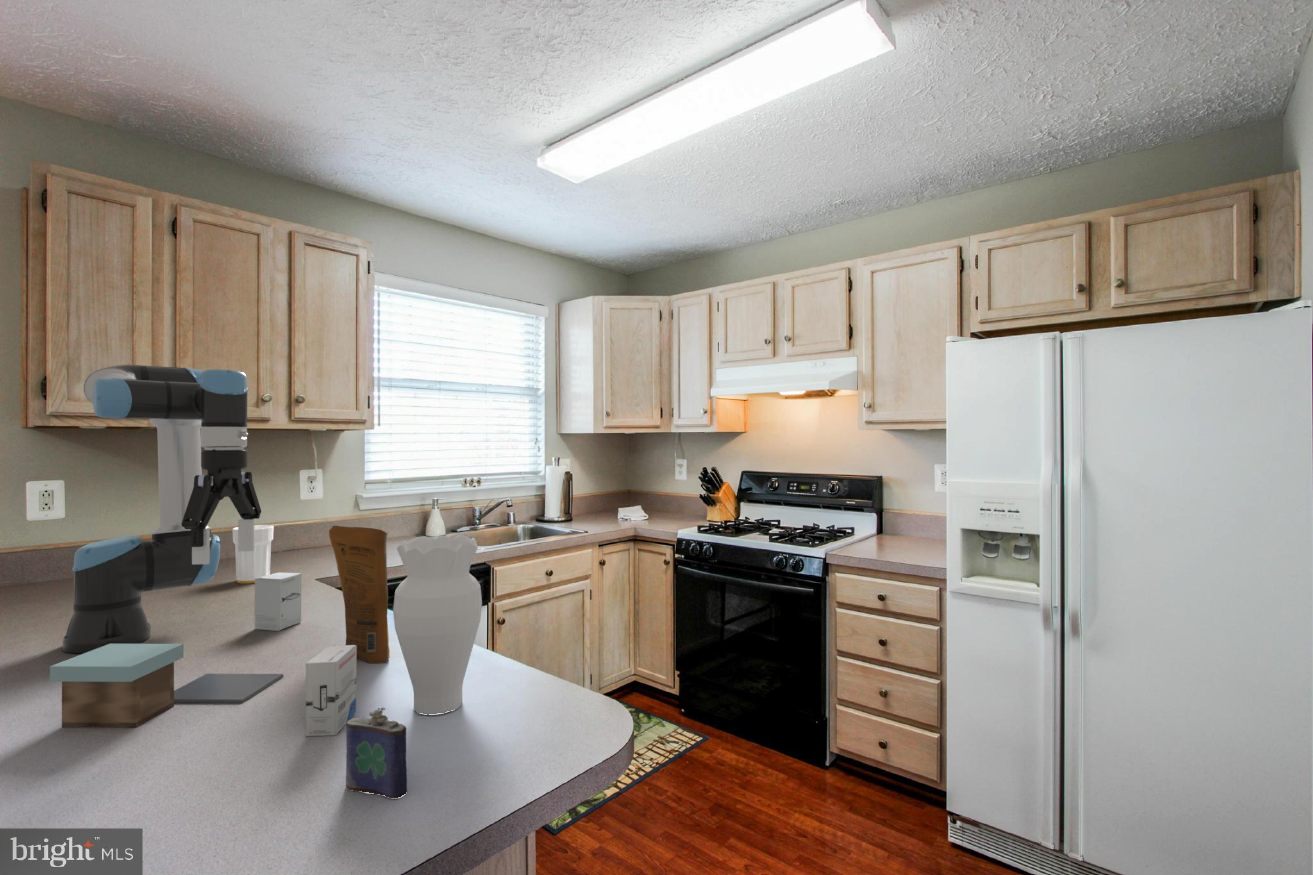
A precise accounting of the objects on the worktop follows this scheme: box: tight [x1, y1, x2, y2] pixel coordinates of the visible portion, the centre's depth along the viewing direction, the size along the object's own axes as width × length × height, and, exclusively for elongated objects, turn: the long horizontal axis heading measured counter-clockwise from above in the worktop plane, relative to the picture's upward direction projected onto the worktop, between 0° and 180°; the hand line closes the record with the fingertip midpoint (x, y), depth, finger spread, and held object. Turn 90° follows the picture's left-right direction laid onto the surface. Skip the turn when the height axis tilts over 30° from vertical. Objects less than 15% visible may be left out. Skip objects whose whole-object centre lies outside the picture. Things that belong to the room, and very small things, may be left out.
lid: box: [49, 643, 184, 682], centre depth 106 cm, size 13×11×5 cm
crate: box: [61, 662, 175, 729], centre depth 106 cm, size 12×8×8 cm, turn 90°
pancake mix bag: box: [328, 525, 390, 664], centre depth 135 cm, size 7×19×28 cm, turn 53°
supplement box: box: [254, 572, 303, 632], centre depth 156 cm, size 7×7×13 cm
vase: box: [392, 534, 483, 715], centre depth 110 cm, size 15×15×29 cm
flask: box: [345, 707, 408, 799], centre depth 84 cm, size 9×3×11 cm, turn 72°
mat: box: [174, 673, 284, 704], centre depth 117 cm, size 15×12×1 cm
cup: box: [231, 524, 275, 585], centre depth 205 cm, size 11×11×17 cm
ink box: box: [305, 645, 357, 737], centre depth 103 cm, size 9×5×12 cm, turn 5°
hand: (224, 557), depth 123 cm, fingers open, 13 cm apart
